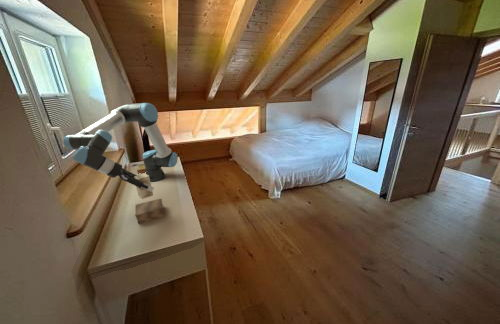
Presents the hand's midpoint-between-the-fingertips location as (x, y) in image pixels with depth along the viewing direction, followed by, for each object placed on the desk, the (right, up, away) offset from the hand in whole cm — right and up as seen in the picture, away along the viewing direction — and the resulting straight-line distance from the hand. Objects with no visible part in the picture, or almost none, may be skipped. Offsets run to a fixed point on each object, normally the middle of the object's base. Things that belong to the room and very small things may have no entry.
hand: (151, 187), depth 120 cm
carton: (-41, +7, +72) cm, 83 cm away
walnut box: (-2, -17, +4) cm, 18 cm away
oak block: (-3, -5, -1) cm, 5 cm away
